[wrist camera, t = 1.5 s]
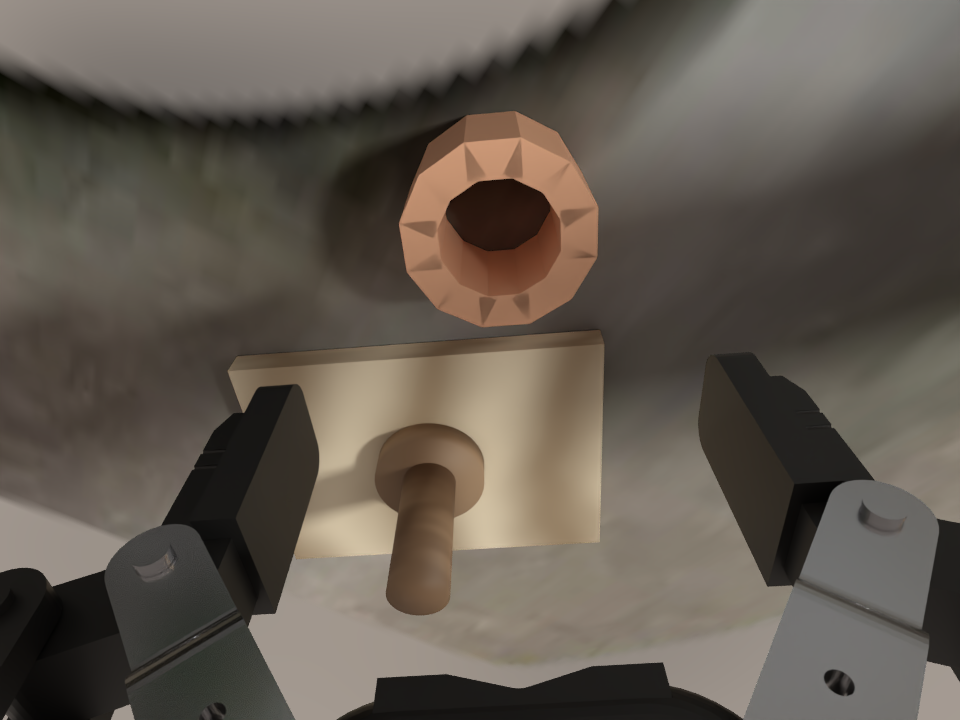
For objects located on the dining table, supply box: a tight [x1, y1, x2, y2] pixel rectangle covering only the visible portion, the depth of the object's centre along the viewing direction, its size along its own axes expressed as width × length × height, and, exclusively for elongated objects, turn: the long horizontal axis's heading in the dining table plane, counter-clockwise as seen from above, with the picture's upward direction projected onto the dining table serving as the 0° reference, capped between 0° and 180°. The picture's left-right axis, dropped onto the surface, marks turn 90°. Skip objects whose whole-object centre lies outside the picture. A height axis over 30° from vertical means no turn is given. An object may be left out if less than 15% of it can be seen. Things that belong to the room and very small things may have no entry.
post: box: [375, 423, 484, 615], centre depth 26 cm, size 5×5×7 cm
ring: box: [399, 111, 598, 327], centre depth 22 cm, size 6×6×4 cm
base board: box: [228, 330, 604, 559], centre depth 30 cm, size 16×12×1 cm
